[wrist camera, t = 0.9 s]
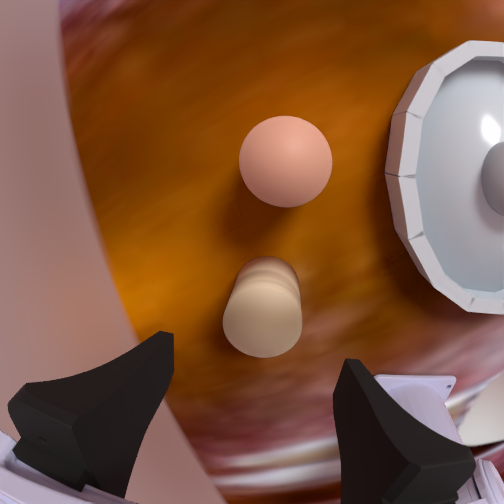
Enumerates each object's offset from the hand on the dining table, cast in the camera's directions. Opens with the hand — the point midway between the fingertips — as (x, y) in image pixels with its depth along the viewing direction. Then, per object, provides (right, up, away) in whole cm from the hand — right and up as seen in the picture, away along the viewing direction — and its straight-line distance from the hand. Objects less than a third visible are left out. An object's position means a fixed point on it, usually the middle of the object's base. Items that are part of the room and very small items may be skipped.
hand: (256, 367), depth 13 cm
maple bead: (+1, +3, +8) cm, 8 cm away
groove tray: (+17, +10, +4) cm, 20 cm away
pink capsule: (+2, +10, +5) cm, 12 cm away
